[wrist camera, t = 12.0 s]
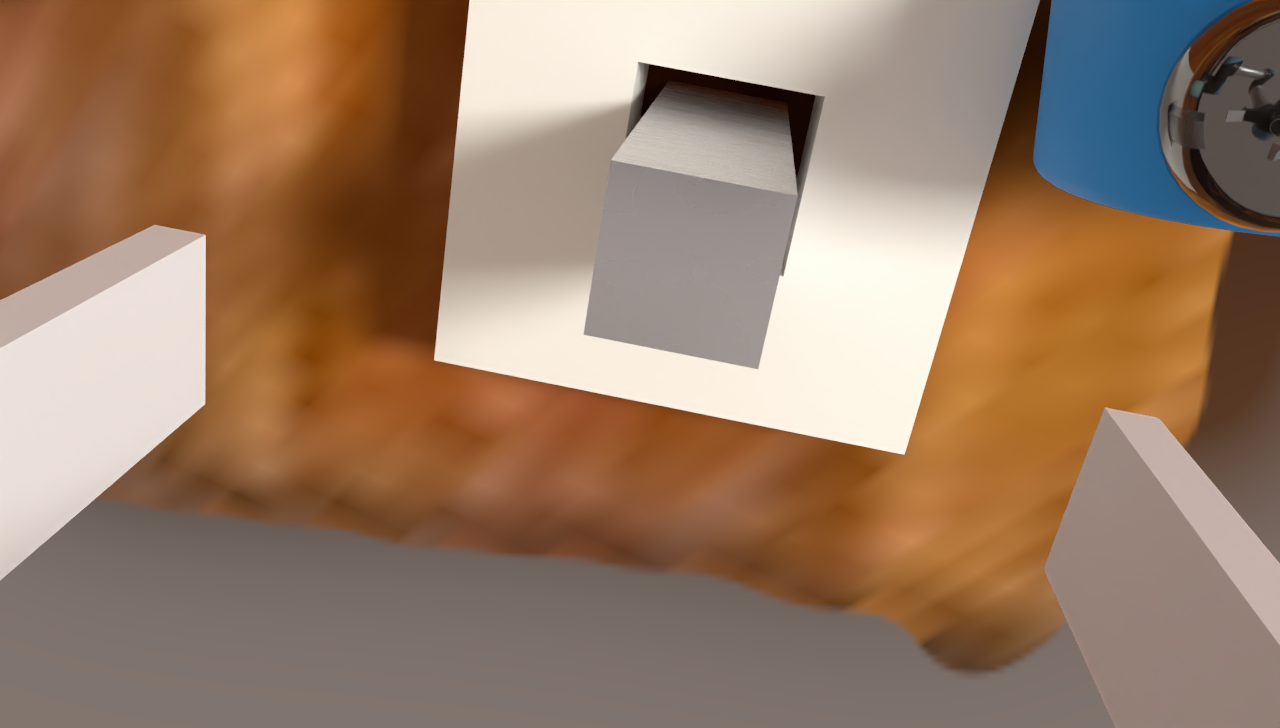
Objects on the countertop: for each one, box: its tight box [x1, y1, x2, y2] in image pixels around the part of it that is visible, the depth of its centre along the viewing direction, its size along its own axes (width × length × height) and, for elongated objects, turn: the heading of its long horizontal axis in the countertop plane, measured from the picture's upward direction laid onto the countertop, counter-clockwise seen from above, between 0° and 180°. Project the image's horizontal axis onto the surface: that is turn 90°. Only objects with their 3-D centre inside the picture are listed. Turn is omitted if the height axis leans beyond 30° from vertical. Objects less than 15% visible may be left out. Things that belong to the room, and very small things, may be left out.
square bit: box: [583, 81, 798, 369], centre depth 29 cm, size 4×4×14 cm
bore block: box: [434, 0, 1040, 454], centre depth 34 cm, size 16×16×4 cm
